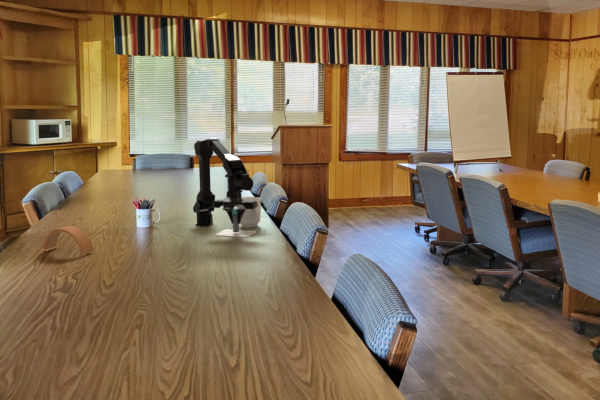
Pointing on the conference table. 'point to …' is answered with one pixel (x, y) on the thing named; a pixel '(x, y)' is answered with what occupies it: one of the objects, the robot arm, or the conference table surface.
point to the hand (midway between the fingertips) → (235, 223)
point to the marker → (235, 220)
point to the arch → (75, 233)
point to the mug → (251, 213)
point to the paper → (236, 233)
